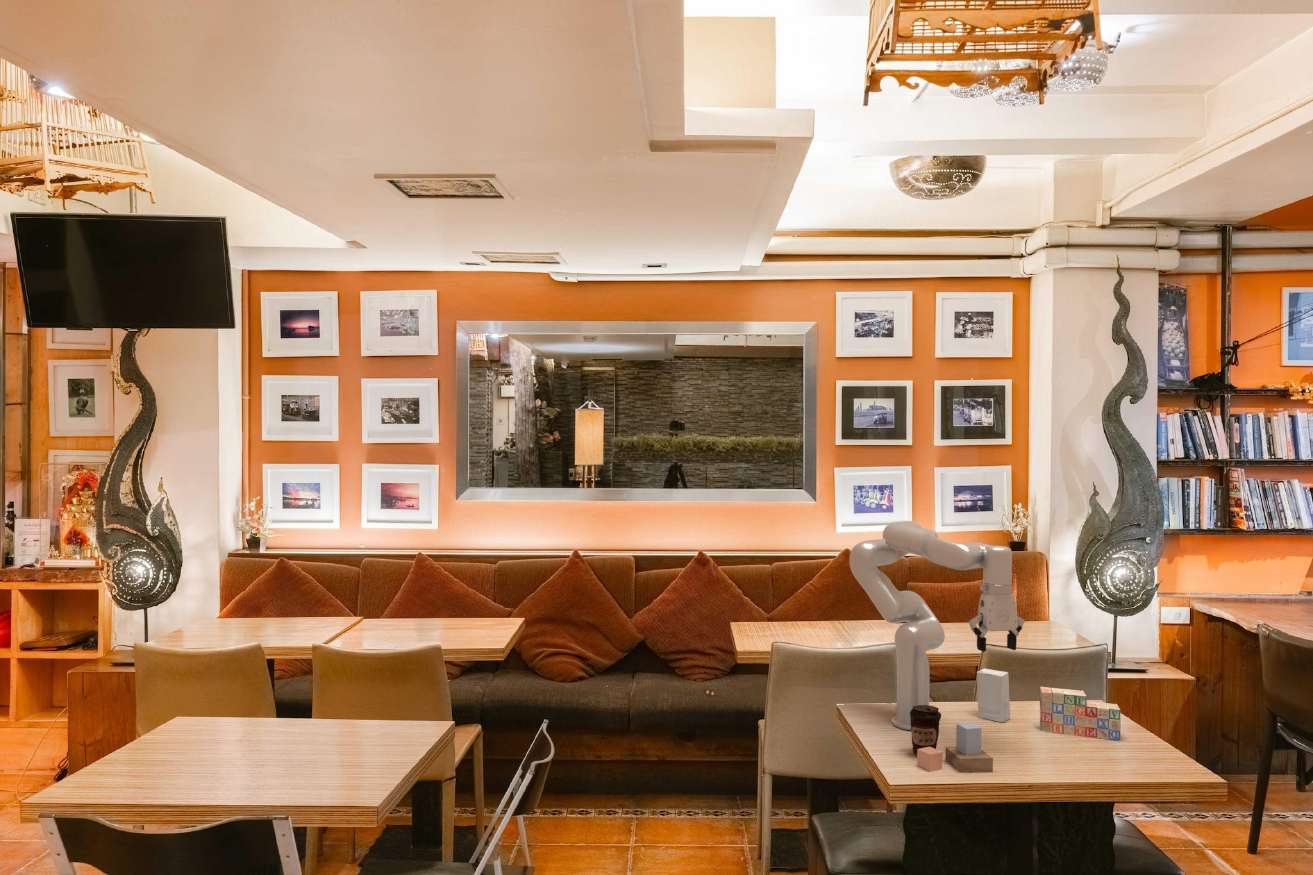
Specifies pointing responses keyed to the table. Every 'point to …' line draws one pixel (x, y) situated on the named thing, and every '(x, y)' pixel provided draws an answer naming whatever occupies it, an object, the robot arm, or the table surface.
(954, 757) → the plinth
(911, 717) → the coffee cup
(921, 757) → the terracotta cube
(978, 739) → the slate block
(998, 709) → the skincare box
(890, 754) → the table surface
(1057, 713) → the stack of blocks
